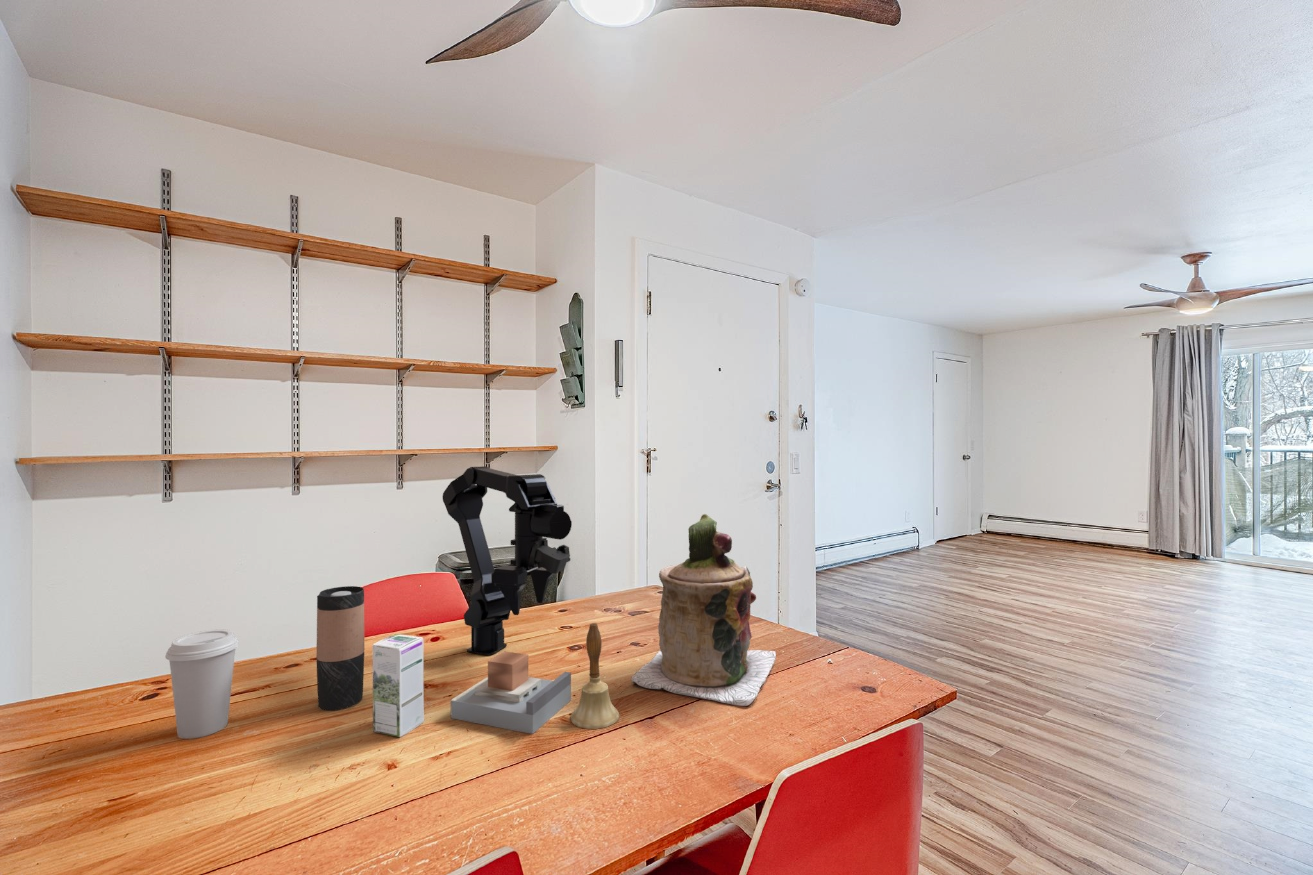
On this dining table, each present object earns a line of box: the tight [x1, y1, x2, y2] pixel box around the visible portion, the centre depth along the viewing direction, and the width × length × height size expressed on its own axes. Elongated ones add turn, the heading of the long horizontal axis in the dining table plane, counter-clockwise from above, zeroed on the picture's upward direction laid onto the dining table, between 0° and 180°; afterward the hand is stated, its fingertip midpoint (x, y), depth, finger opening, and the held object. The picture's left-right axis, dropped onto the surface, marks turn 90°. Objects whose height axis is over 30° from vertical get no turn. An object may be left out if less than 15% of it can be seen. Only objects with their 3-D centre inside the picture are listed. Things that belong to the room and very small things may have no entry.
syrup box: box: [372, 633, 425, 738], centre depth 96 cm, size 6×6×14 cm
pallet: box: [475, 650, 542, 703], centre depth 103 cm, size 9×7×6 cm
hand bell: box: [570, 622, 620, 730], centre depth 99 cm, size 8×8×16 cm
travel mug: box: [315, 585, 365, 712], centre depth 105 cm, size 8×8×20 cm
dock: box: [450, 671, 572, 735], centre depth 102 cm, size 16×13×5 cm
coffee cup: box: [164, 629, 240, 740], centre depth 95 cm, size 10×10×15 cm
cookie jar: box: [630, 513, 777, 707], centre depth 118 cm, size 25×25×32 cm
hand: (528, 608), depth 122 cm, fingers open, 9 cm apart
